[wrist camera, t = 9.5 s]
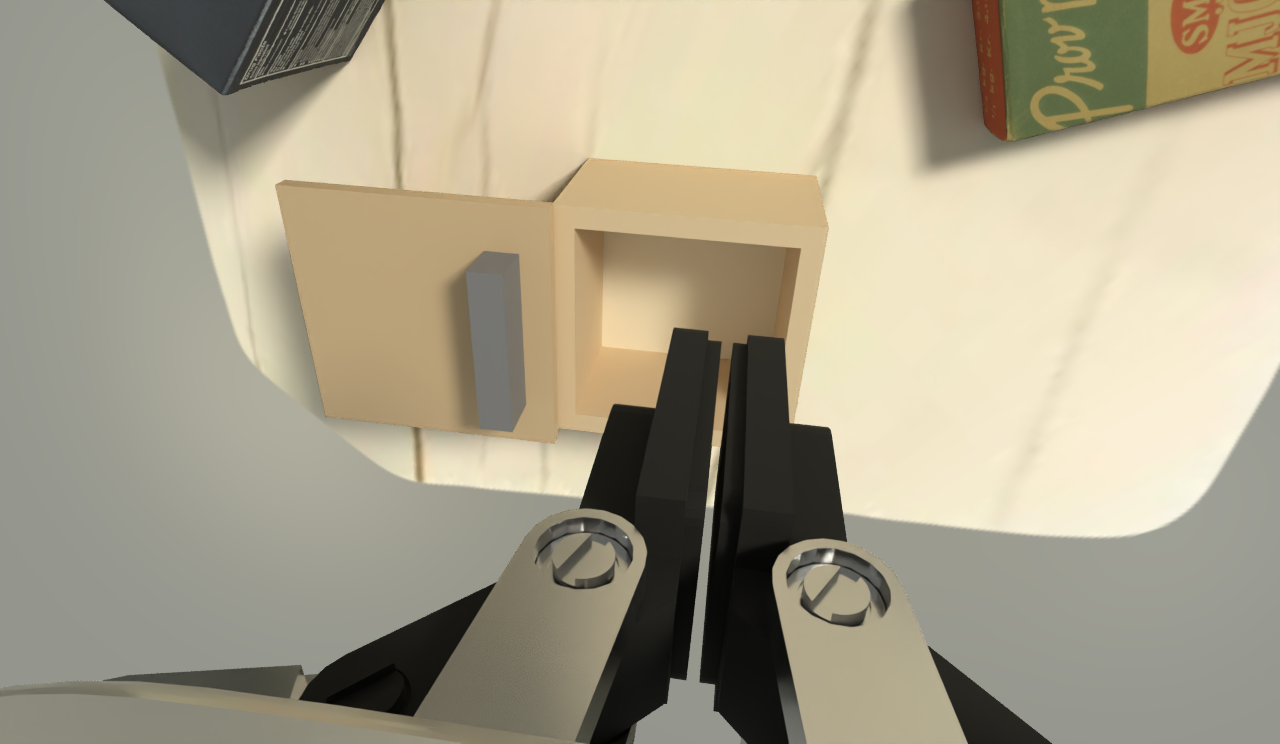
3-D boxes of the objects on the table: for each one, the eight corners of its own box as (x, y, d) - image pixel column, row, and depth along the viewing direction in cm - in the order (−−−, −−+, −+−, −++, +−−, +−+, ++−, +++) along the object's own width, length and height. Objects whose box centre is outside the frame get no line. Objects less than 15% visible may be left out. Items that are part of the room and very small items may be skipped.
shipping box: (588, 158, 39) (551, 204, 32) (816, 176, 38) (828, 228, 31) (587, 354, 45) (556, 427, 38) (783, 374, 44) (788, 454, 37)
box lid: (285, 179, 33) (242, 201, 30) (553, 202, 32) (533, 227, 29) (333, 408, 39) (301, 442, 37) (558, 434, 38) (542, 472, 35)
